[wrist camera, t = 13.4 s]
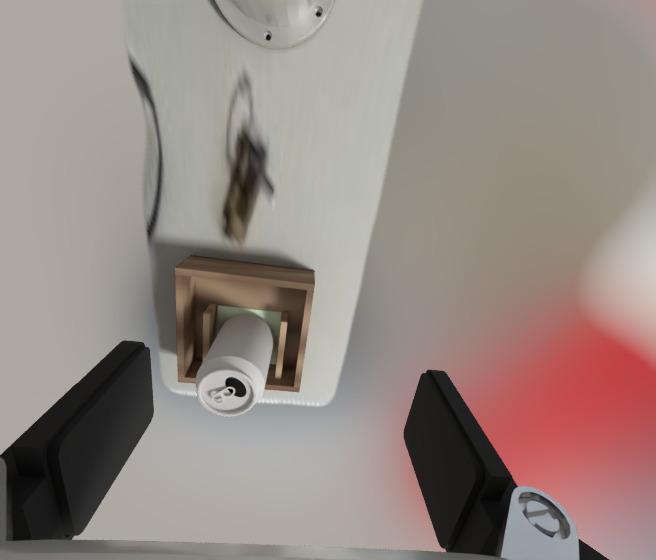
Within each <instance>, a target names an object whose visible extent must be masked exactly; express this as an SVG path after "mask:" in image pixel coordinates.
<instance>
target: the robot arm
mask: <svg viewBox="0 0 656 560" xmlns="http://www.w3.org/2000/svg"><path fill="white" fill-rule="evenodd" d="M215 1H216V3H217V5H218V7H219V9H220V10H221V12H222V14H223V15H224V17H225V18H226V20H227V21H228V22H229V23H230V24H231V26H232V27H233V28H234V29H235V30H236V31H237V32H238V33H239V34H241V35H242V36H243V37H245V38H246V39H247V40H249V41H251V42H253V43H255V44H257V45H259V46H263V47H267V48H271V49H284V48H289V47H294V46H296V45H298V44H301V43H303V42H305V41H306V40H307V39H309V38H310V37H311V36H313V35H314V34H315V33H316V32H317V31H318V29H319V28H320V27H321V26H322V25H323V23H324V22H325V20H326V18H327V16H328V15H329V13H330V10H331V8H332V5H333V3H334V0H215ZM317 13H320V14H321V16H320V17H317V16H316V14H317ZM267 36H270V37H271V40H270V41H268V40H266V38H267ZM153 413H154V407H153V391H152V375H151V359H150V349H149V348H148V347H145V345H144V343H143V342H135V341H122V342H121V343H120V344H118V345H117V346H116V347H115V348H114V349H113V350H112V351H111V352H110V353H109V354H108V355H107V356H106V357H105V358H104V359H102V360H101V361H100V362H99V363H98V364H97V365H96V366H95V367H94V368H93V369H92V370H91V371H90V372H89V373H88V374H87V375H86V376H85V377H83V378H82V379H81V380H80V381H79V382H78V383H77V384H75V385H74V386H73V387H72V388H71V389H70V390H69V391H68V392H67V393H66V394H65V395H64V396H63V397H62V398H61V399H59V400H58V401H57V402H56V403H55V404H54V405H53V406H52V407H51V408H50V409H49V410H48V411H47V412H46V413H45V414H43V415H42V416H41V417H40V418H39V419H38V420H37V421H36V422H35V423H34V424H33V425H32V426H31V427H30V428H29V429H28V430H27V431H25V433H23V434H22V435H21V436H20V437H19V438H18V439H17V440H16V441H15V442H14V443H13V444H12V445H11V446H10V447H9V448H7V449H6V450H5V451H4V452H3V453H2V454H1V455H0V560H609V559H607V558H606V557H604V556H603V555H601V554H600V553H598V552H597V551H596V550H594V549H593V548H591V547H590V546H588V545H587V544H585V543H584V542H582V541H581V540H580V539H578V533H577V528H576V526H575V524H574V522H573V520H572V518H571V517H570V516H569V514H568V513H567V512H566V511H565V509H564V508H563V507H562V506H560V504H559V503H558V502H557V501H555V500H554V499H553V498H551V497H550V496H549V495H547V494H546V493H544V492H542V491H540V490H538V489H536V488H532V487H528V486H519V487H518V486H517V485H516V483H515V482H514V480H513V478H512V475H511V474H510V472H509V471H508V469H507V468H506V466H505V465H504V463H503V461H502V460H501V458H500V457H499V455H498V454H497V452H496V450H495V449H494V447H493V446H492V444H491V443H490V441H489V439H488V438H487V436H486V435H485V433H484V432H483V430H482V428H481V427H480V425H479V424H478V422H477V421H476V419H475V418H474V416H473V414H472V413H471V411H470V410H469V408H468V407H467V405H466V403H465V402H464V400H463V399H462V397H461V396H460V394H459V392H458V391H457V389H456V388H455V386H454V385H453V383H452V381H451V380H450V378H449V377H448V375H447V374H446V372H444V371H437V370H427V371H426V373H423V374H422V375H421V377H420V380H419V383H418V386H417V390H416V393H415V396H414V399H413V402H412V406H411V409H410V412H409V415H408V419H407V422H406V425H405V428H404V440H405V444H406V446H407V449H408V453H409V456H410V459H411V461H412V465H413V468H414V471H415V474H416V477H417V480H418V483H419V485H420V488H421V491H422V494H423V497H424V500H425V503H426V506H427V509H428V512H429V515H430V518H431V521H432V524H433V527H434V530H435V533H436V536H437V539H438V542H439V544H440V546H441V547H442V548H444V549H446V552H433V551H414V550H390V549H366V548H365V549H364V548H341V547H313V546H286V545H285V546H284V545H257V544H226V543H193V542H192V543H191V542H157V541H122V540H72V538H73V537H74V535H75V536H76V535H79V534H81V533H82V532H83V530H84V529H85V527H86V526H87V524H88V523H89V521H90V519H91V518H92V516H93V515H94V513H95V511H96V510H97V508H98V507H99V505H100V503H101V501H102V500H103V498H104V497H105V495H106V494H107V492H108V490H109V489H110V487H111V485H112V484H113V482H114V480H115V479H116V477H117V476H118V474H119V473H120V471H121V469H122V468H123V466H124V464H125V462H126V461H127V460H128V458H129V456H130V454H131V453H132V451H133V450H134V448H135V447H136V445H137V443H138V442H139V440H140V439H141V437H142V435H143V434H144V432H145V430H146V429H147V427H148V425H149V424H150V422H151V420H152V417H153Z"/></svg>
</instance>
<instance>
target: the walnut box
mask: <svg viewBox="0 0 656 560" xmlns="http://www.w3.org/2000/svg"><path fill="white" fill-rule="evenodd" d="M314 286H315V278H314V271H312V270H304V269H296V268H288V267H280V266H272V265H264V264H256V263H248V262H240V261H232V260H224V259H216V258H208V257H200V256H192V255H191V256H190V257H188V258H187V259H186V260H185V261H183V262H182V263H181V264H179V265H178V266H177V267H176V268H175V287H176V324H177V362H178V382H184V383H195V381H196V375H197V372H198V370H199V368H200V367H201V365H202V363H203V361H204V359H205V357H206V355H207V353H208V352H209V350H210V348H211V346H212V344H213V342H214V340H215V338H216V337H217V335H218V333H219V331H220V329H221V328H222V326H223V324H224V323H225V322H226V321H227V320H229V319H230V318H232V317H235V316H238V315H252V316H256V317H258V318H260V319H262V320H264V321H265V322H266V323H267V324H268V325H269V326H270V328H271V330H272V332H273V335H274V344H273V349H272V354H271V359H270V364H269V369H268V374H267V379H266V384H265V388H264V389H267V390H279V391H291V392H299V389H300V383H301V376H302V369H303V362H304V355H305V348H306V341H307V334H308V327H309V320H310V314H311V307H312V300H313V293H314Z"/></svg>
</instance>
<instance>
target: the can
mask: <svg viewBox="0 0 656 560" xmlns="http://www.w3.org/2000/svg"><path fill="white" fill-rule="evenodd" d="M273 344H274V335H273V332H272V330H271V328H270V326H269V325H268V324H267V323H266V322H265V321H264V320H262V319H260V318H258V317H256V316H252V315H238V316H235V317H232V318H230V319H229V320H227V321H226V322H225V323H224V324H223V326H222V328H221V329H220V331H219V333H218V335H217V337H216V338H215V340H214V342H213V344H212V346H211V348H210V350H209V352H208V353H207V355H206V357H205V359H204V361H203V363H202V365H201V367H200V368H199V370H198V372H197V375H196V381H195V383H196V388H197V396H198V399H199V401H200V402H201V404H202V406H204V407H205V408H206V409H207V410H209V411H210V412H212V413H214V414H217V415H221V416H226V417H227V416H237V415H240V414H244V413H245V412H247V411H248V410H250V409H251V408H252V406H253V405H254V404H255V403H257V402H258V401H259V399H260V398H261V397H262V395H263V392H264V388H265V384H266V379H267V374H268V369H269V364H270V359H271V354H272V349H273Z"/></svg>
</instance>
